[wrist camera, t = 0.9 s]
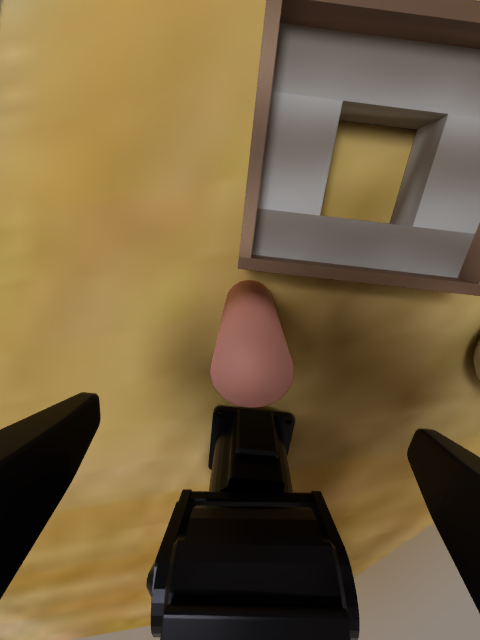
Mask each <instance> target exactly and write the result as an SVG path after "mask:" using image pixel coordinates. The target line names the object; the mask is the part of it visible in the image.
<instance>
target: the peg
mask: <svg viewBox="0 0 480 640" xmlns="http://www.w3.org/2000/svg"><path fill="white" fill-rule="evenodd" d="M210 375H211V380H212V383H213V385H214V387H215V389H216V390H217V392H218V393H219V394H220V395H221V396H222V397H223V398H224V399H226V400H227V401H229V402H231V403H233V404H235V405H238V406H242V407H251V408H253V407H262V406H266V405H269V404H271V403H273V402H275V401H277V400H278V399H280V398H281V397H282V396H283V395H284V394H285V393H286V392H287V391H288V389H289V387H290V386H291V383H292V381H293V377H294V366H293V362H292V358H291V355H290V352H289V349H288V346H287V343H286V340H285V337H284V334H283V330H282V327H281V324H280V321H279V318H278V315H277V312H276V309H275V305H274V302H273V299H272V296H271V293H270V291H269V290H268V289H267V288H266V286H264V285H263V284H261V283H260V282H257V281H253V280H246V281H242V282H239V283H237V284H236V285H234V286H233V287H232V288H231V289H230V291H229V293H228V295H227V298H226V302H225V307H224V311H223V315H222V319H221V324H220V328H219V332H218V337H217V341H216V345H215V349H214V354H213V358H212V362H211V367H210Z"/></svg>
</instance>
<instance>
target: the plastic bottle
mask: <svg viewBox="0 0 480 640" xmlns="http://www.w3.org/2000/svg"><path fill="white" fill-rule="evenodd" d="M474 366H475V371H476V374H477V377H478V379H479V380H480V340H479V341H478V343H477V346H476V348H475V351H474Z"/></svg>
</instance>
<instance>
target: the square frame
mask: <svg viewBox="0 0 480 640" xmlns="http://www.w3.org/2000/svg"><path fill="white" fill-rule="evenodd" d="M339 120H343V121H351V122H359V123H367V124H375V125H383V126H391V127H399V128H407V129H415V130H417V132H416V135H415V139H414V142H413V145H412V149H411V152H410V156H409V159H408V163H407V166H406V170H405V173H404V177H403V180H402V184H401V187H400V190H399V194H398V197H397V201H396V204H395V208H394V211H393V215H392V218H391V222H390V224H387V223H379V222H370V221H362V220H353V219H345V218H336V217H328V216H320V212H321V207H322V202H323V197H324V192H325V187H326V182H327V177H328V172H329V167H330V162H331V157H332V152H333V147H334V142H335V137H336V132H337V127H338V122H339ZM238 269H245V270H254V271H263V272H272V273H280V274H289V275H298V276H307V277H316V278H325V279H334V280H343V281H351V282H360V283H369V284H378V285H387V286H396V287H405V288H413V289H422V290H431V291H440V292H449V293H458V294H467V295H475V296H480V1H477V0H266V8H265V17H264V27H263V36H262V46H261V55H260V65H259V74H258V83H257V93H256V102H255V112H254V121H253V130H252V140H251V149H250V159H249V168H248V178H247V187H246V196H245V206H244V215H243V225H242V234H241V243H240V253H239V262H238Z"/></svg>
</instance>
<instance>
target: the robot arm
mask: <svg viewBox="0 0 480 640" xmlns="http://www.w3.org/2000/svg"><path fill="white" fill-rule="evenodd" d="M218 412H220V413H222V414H218ZM288 419H289V421H286V420H288ZM294 423H295V420H294V417H293V415H292V414H289V413H279V412H269V411H259V410H250V409H240V408H230V407H216V408H215V409H214V412H213V421H212V432H211V443H210V454H209V465H208V466H209V468H210V469H211V470H212V472H211V479H210V487H209V492H206V491H192V490H183V491H182V493H181V496H180V499H179V502H177V503H176V505H175V508H174V511H173V513H172V516H171V519H170V522H169V524H168V527H167V530H166V532H165V535H164V538H163V541H162V543H161V546H160V549H159V551H158V554H157V557H156V560H155V562H154V564H153V566H152V568H151V570H150V571H149V574H148V578H147V589H148V591H149V593H150V595H151V597H152V600H151V631H152V635H153V637H161V638H160V640H358V637H359V609H358V602H357V594H356V589H355V583H354V578H353V574H352V570H351V566H350V562H349V559H348V556H347V553H346V550H345V547H344V545H343V542H342V540H341V538H340V535H339V533H338V531H337V528H336V526H335V524H334V521H333V519H332V517H331V514H330V512H329V510H328V507H327V505H326V503H325V500H324V498H323V496H322V493H321V491H312V492H311V493H293V490H292V484H291V478H290V472H289V467H288V461H287V454H288V450H289V445H290V441H291V437H292V432H293V428H294ZM99 424H100V404H99V397H98V395H97V394H95V393H86V392H82V393H79V394H77V395H75V396H73V397H70V398H68V399H66V400H64V401H62V402H60V403H57V404H55V405H53V406H51V407H49V408H46V409H44V410H42V411H40V412H38V413H36V414H33V415H31V416H29V417H27V418H25V419H23V420H20V421H18V422H16V423H14V424H12V425H9V426H7V427H5V428H3V429H1V430H0V599H1V597H2V596H3V594H4V592H5V591H6V589H7V587H8V586H9V584H10V583H11V581H12V579H13V578H14V576H15V574H16V573H17V571H18V569H19V568H20V566H21V565H22V563H23V561H24V560H25V558H26V556H27V555H28V553H29V551H30V550H31V548H32V546H33V545H34V543H35V542H36V540H37V538H38V537H39V535H40V533H41V532H42V530H43V528H44V527H45V525H46V523H47V522H48V520H49V519H50V517H51V515H52V514H53V512H54V510H55V509H56V507H57V505H58V504H59V502H60V500H61V499H62V497H63V496H64V494H65V492H66V491H67V489H68V487H69V485H70V484H71V482H72V480H73V478H74V476H75V474H76V472H77V470H78V468H79V466H80V464H81V462H82V460H83V458H84V456H85V454H86V452H87V450H88V448H89V446H90V443H91V441H92V439H93V437H94V435H95V433H96V431H97V429H98V427H99ZM407 456H408V460H409V463H410V465H411V468H412V470H413V473H414V475H415V478H416V480H417V483H418V485H419V488H420V490H421V493H422V495H423V498H424V500H425V503H426V505H427V508H428V510H429V512H430V514H431V517H432V519H433V521H434V523H435V525H436V527H437V529H438V531H439V533H440V535H441V537H442V539H443V541H444V543H445V545H446V547H447V549H448V551H449V553H450V555H451V557H452V559H453V561H454V563H455V565H456V567H457V569H458V571H459V573H460V575H461V577H462V579H463V581H464V583H465V585H466V587H467V589H468V591H469V593H470V595H471V597H472V599H473V601H474V603H475V605H476V607H477V609H478V610H479V613H480V457H478V456H477V455H475V454H473V453H472V452H470V451H468V450H467V449H465V448H463V447H462V446H460V445H458V444H457V443H455V442H453V441H452V440H450V439H448V438H447V437H445V436H443V435H442V434H440V433H439V432H437V431H435V430H431V429H418V430H416V432H415V434H414V436H413V438H412V441H411V443H410V446H409V448H408V451H407Z"/></svg>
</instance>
